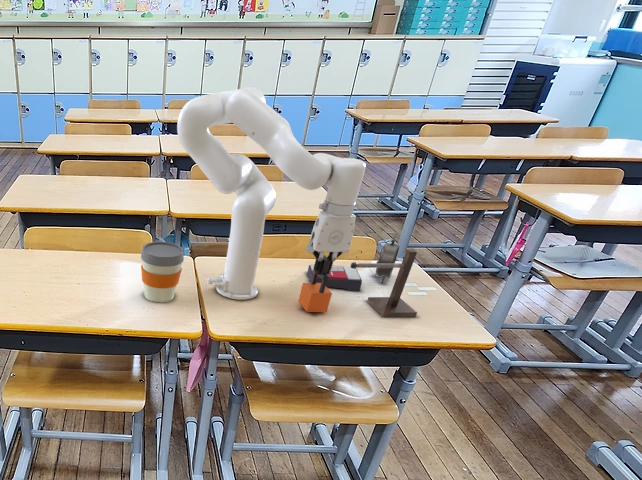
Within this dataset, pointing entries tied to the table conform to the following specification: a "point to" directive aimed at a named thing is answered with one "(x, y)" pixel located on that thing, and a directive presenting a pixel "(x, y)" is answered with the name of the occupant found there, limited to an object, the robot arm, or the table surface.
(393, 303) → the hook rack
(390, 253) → the alarm clock
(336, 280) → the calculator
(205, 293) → the table surface
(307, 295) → the orange square box
